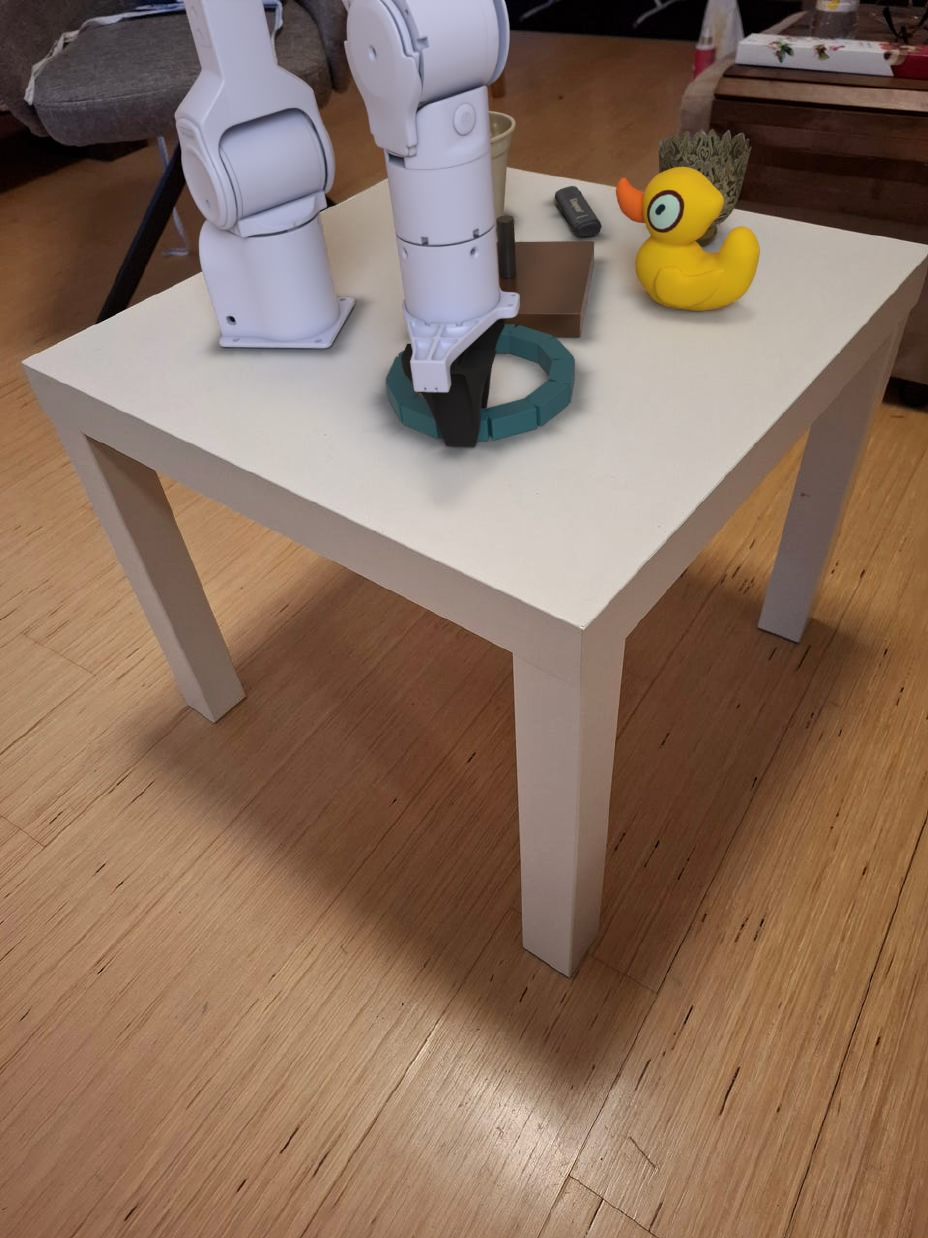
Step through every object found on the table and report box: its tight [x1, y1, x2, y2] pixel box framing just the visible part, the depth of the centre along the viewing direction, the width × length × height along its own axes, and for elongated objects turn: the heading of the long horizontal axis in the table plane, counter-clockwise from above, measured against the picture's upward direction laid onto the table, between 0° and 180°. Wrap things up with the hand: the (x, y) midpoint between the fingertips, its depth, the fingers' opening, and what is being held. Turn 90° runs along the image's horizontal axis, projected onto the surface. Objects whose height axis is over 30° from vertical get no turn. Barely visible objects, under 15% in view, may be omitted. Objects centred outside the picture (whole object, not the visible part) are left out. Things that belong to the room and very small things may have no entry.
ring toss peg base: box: [496, 214, 595, 338], centre depth 71 cm, size 13×13×6 cm
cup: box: [658, 128, 752, 247], centre depth 75 cm, size 8×7×8 cm
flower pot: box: [489, 110, 516, 230], centre depth 81 cm, size 9×9×9 cm
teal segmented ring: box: [385, 324, 576, 442], centre depth 63 cm, size 13×13×2 cm
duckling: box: [615, 167, 761, 312], centre depth 66 cm, size 11×5×10 cm, turn 58°
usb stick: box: [554, 185, 603, 238], centre depth 82 cm, size 10×3×2 cm, turn 8°
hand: (465, 429), depth 59 cm, fingers open, 3 cm apart
